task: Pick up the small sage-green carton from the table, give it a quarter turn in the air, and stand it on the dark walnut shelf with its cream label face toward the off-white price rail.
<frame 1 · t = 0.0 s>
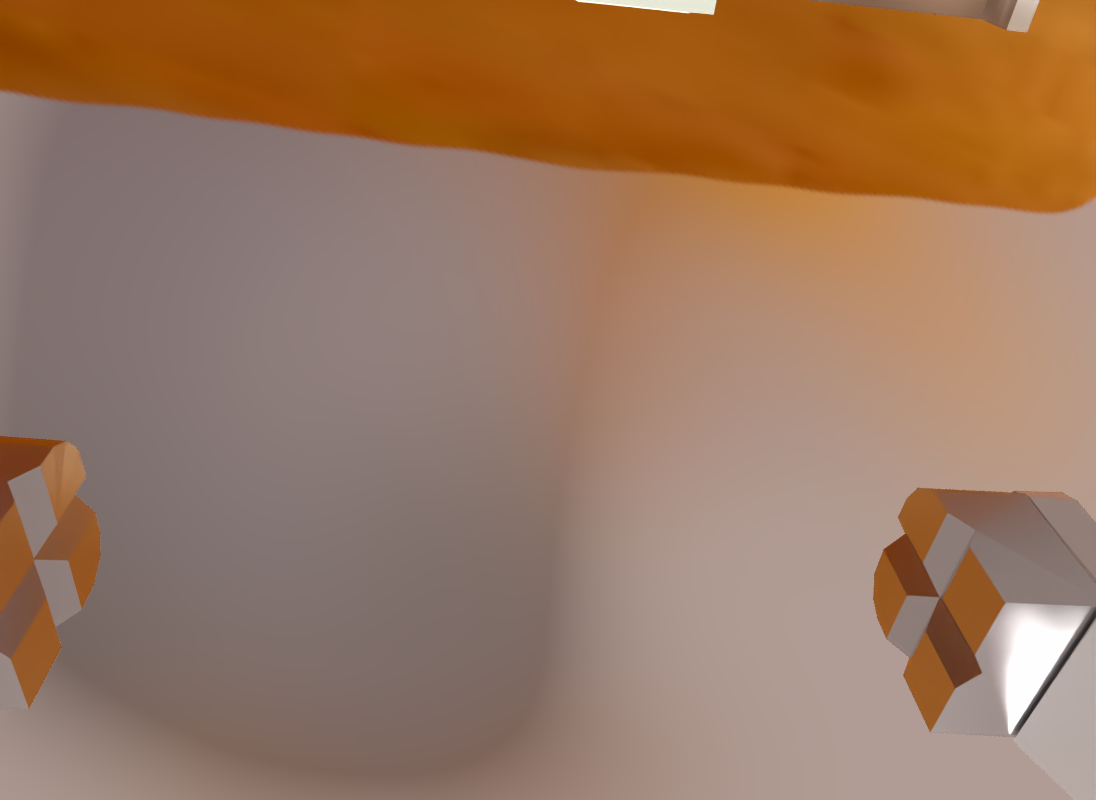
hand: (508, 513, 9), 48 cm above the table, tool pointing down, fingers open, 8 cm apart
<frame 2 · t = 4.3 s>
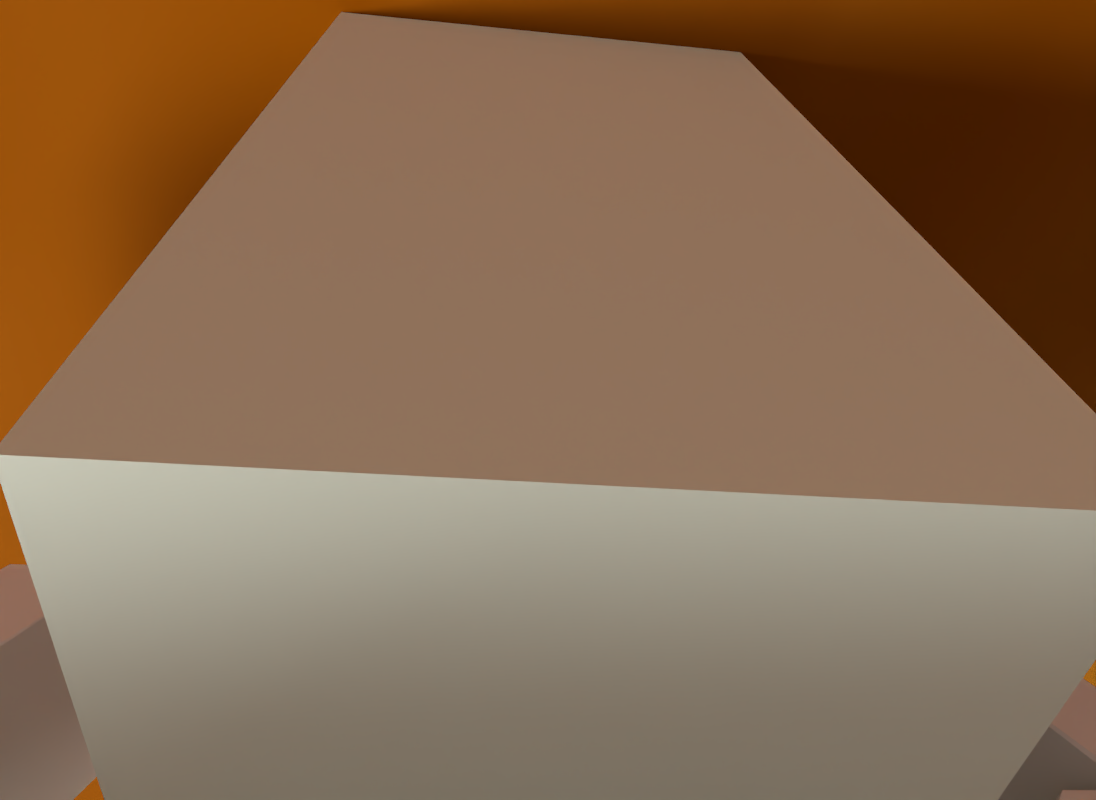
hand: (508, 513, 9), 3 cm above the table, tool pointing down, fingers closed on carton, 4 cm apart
carton: (513, 370, 11), on the table, touching gripper
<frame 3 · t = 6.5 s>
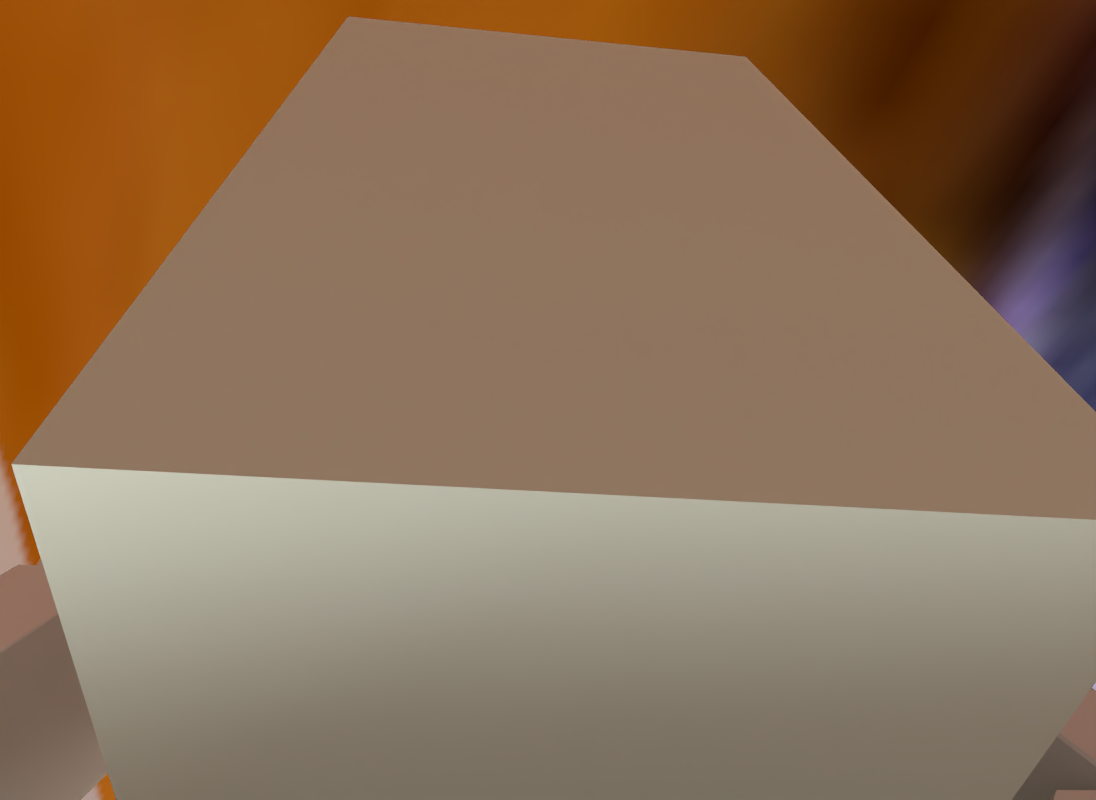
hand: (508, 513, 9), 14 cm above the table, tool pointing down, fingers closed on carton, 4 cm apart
carton: (517, 373, 11), point 12 cm above the table, touching gripper
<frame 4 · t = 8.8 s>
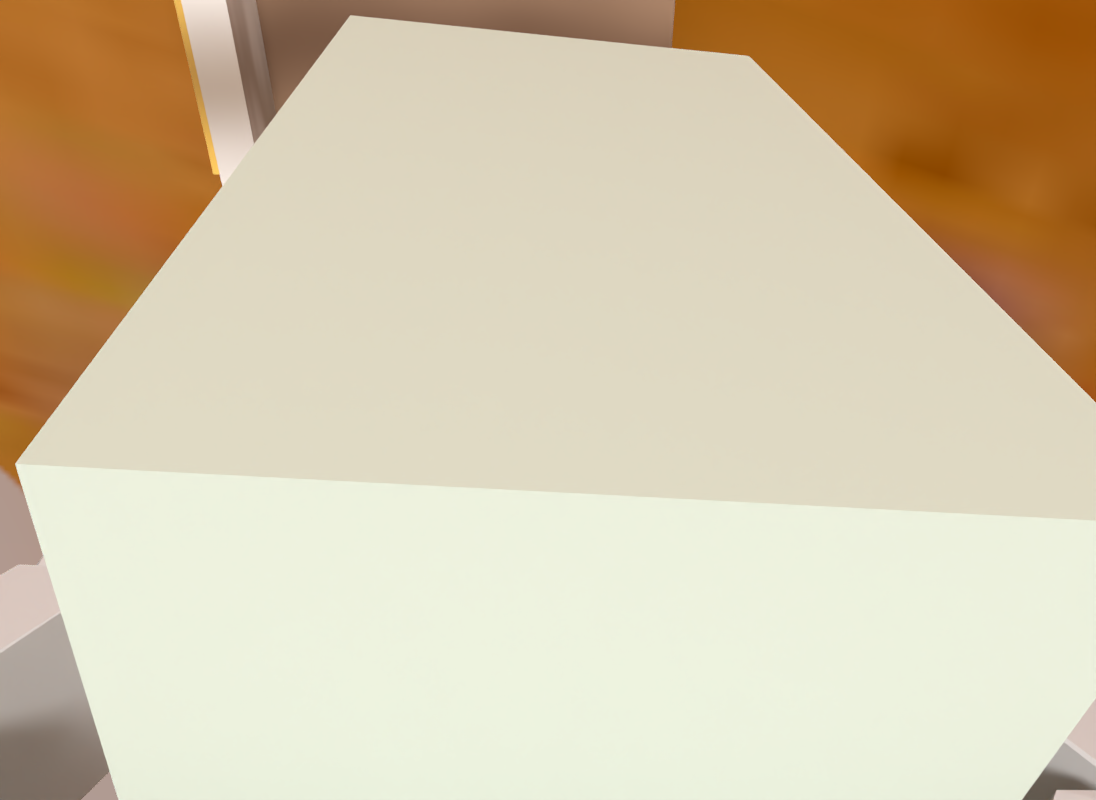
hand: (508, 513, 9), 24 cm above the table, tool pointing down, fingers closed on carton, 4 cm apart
carton: (519, 373, 11), point 22 cm above the table, touching gripper
shelf: (455, 53, 29), on the table
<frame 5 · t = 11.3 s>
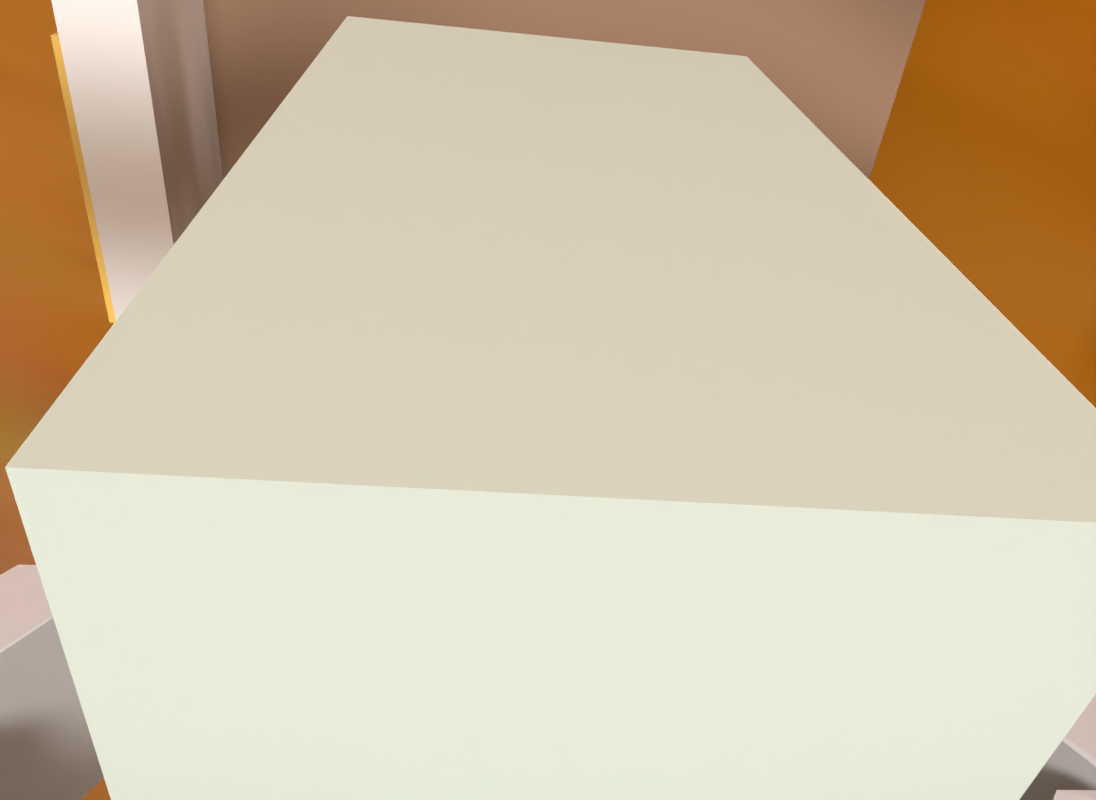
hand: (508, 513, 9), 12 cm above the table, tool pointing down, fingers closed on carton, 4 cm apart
carton: (517, 374, 11), point 9 cm above the table, touching gripper
shelf: (519, 149, 19), on the table
when the fingers open (6 cm above the table, at t = 13.3 s): carton drops 1 cm, resting on shelf.
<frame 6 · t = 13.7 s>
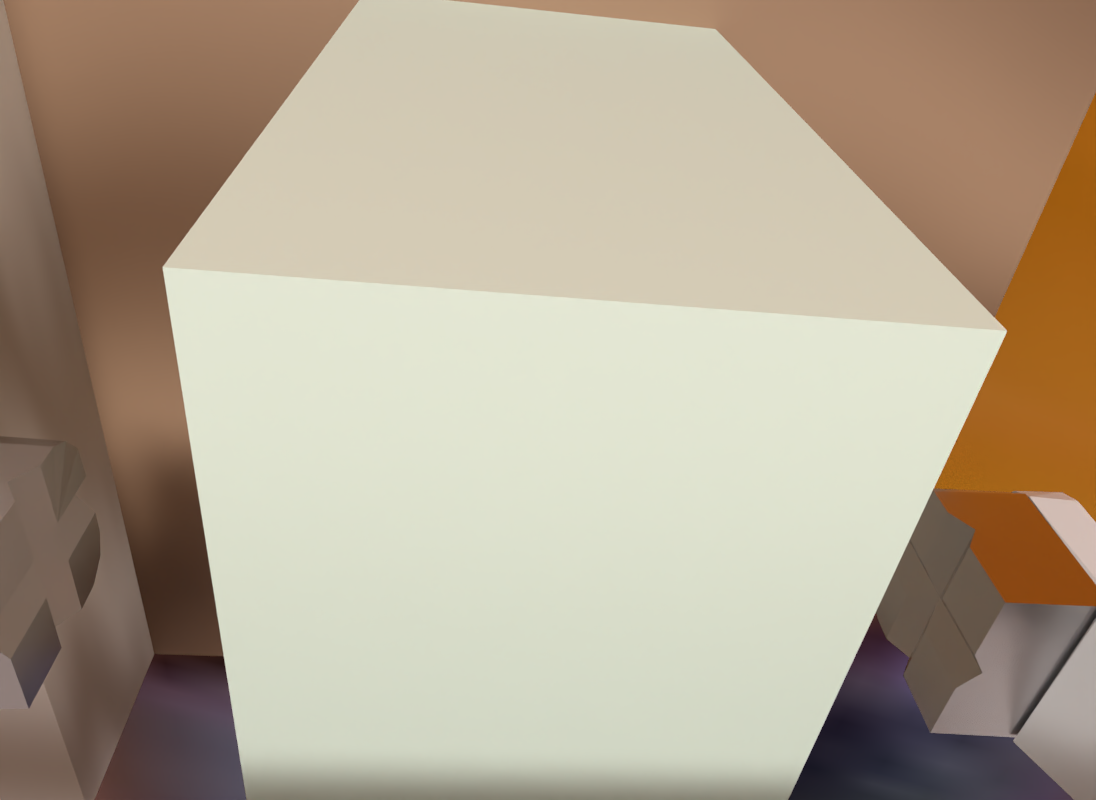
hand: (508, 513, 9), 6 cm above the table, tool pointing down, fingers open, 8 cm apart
carton: (514, 318, 12), point 2 cm above the table, touching shelf
shelf: (504, 251, 14), on the table
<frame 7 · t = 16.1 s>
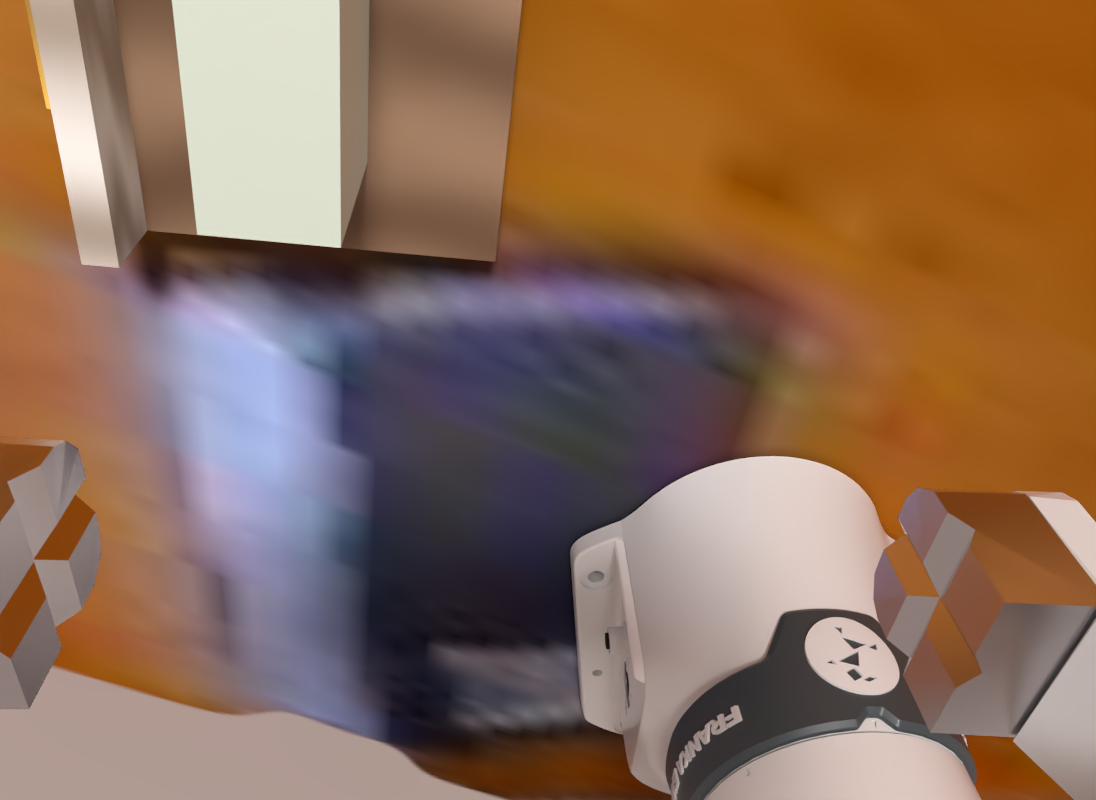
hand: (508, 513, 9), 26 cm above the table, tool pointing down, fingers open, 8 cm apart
carton: (306, 37, 28), point 2 cm above the table, touching shelf
shelf: (312, 20, 30), on the table
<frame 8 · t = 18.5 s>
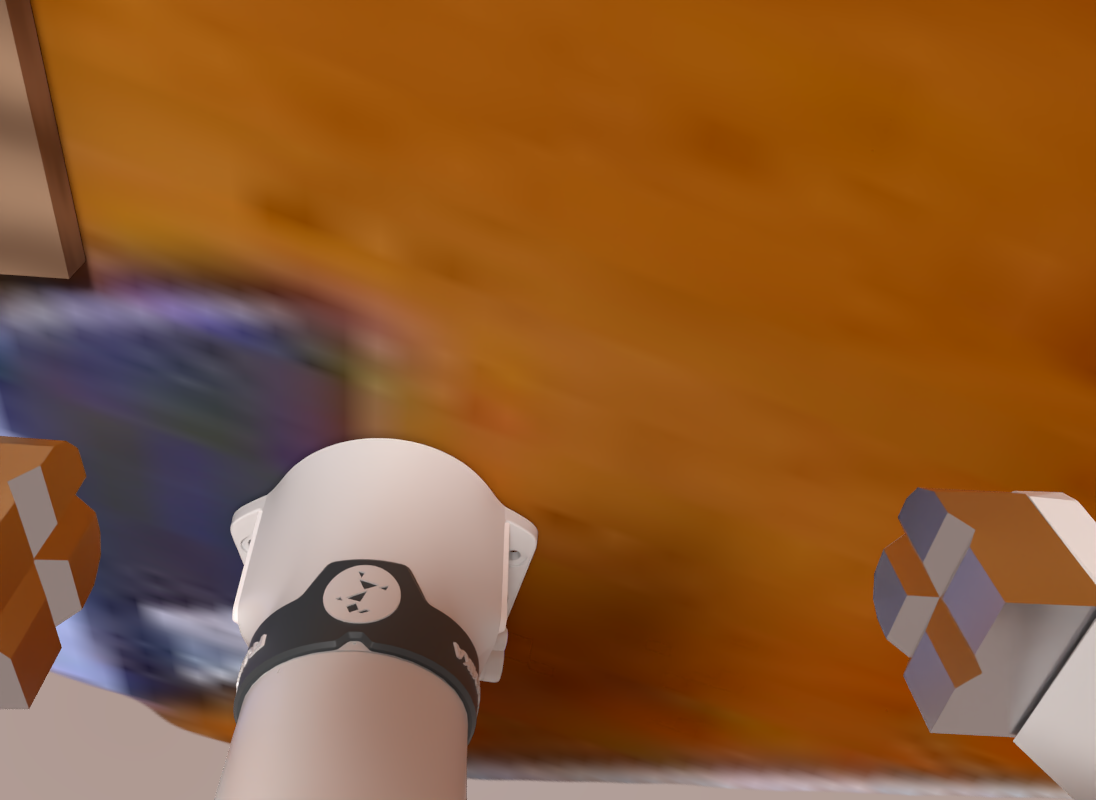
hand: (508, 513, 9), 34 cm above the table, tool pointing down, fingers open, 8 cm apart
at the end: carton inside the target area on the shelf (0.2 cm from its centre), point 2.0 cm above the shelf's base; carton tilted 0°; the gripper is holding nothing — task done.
